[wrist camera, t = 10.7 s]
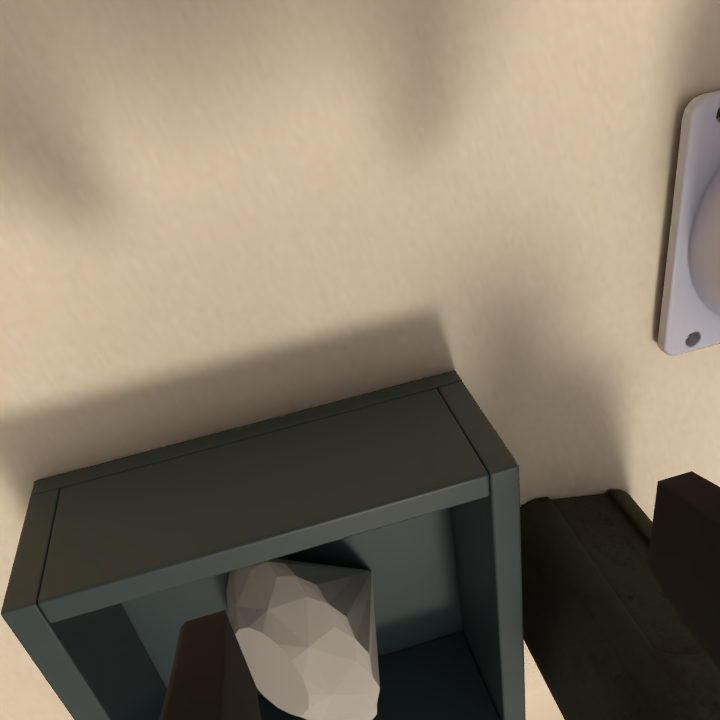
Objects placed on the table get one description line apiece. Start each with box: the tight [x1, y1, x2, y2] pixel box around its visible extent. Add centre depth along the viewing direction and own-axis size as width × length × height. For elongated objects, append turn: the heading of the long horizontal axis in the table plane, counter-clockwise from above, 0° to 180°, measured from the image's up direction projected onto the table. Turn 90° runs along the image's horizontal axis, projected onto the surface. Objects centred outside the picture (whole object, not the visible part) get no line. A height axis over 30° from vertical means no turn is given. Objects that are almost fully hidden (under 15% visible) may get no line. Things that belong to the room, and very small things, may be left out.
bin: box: [1, 371, 525, 720], centre depth 21 cm, size 13×13×5 cm
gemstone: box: [226, 558, 380, 720], centre depth 22 cm, size 6×6×5 cm
